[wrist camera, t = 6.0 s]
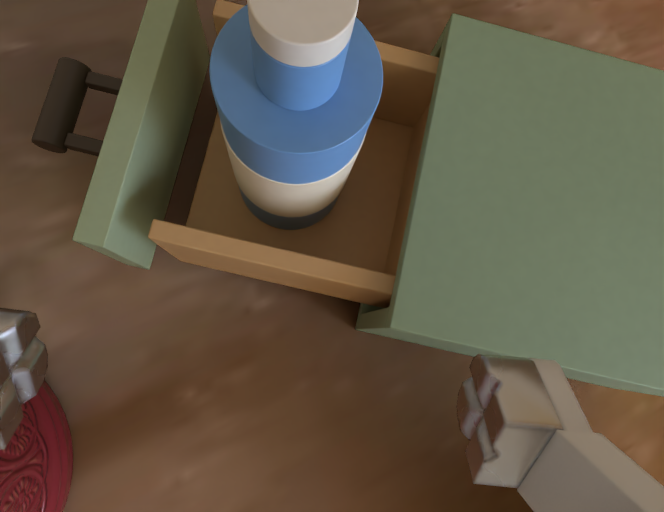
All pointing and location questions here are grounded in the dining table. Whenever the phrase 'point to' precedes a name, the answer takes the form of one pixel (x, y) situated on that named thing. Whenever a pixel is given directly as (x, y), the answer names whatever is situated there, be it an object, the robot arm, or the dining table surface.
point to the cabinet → (536, 210)
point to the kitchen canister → (37, 458)
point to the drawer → (217, 173)
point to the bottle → (294, 103)
